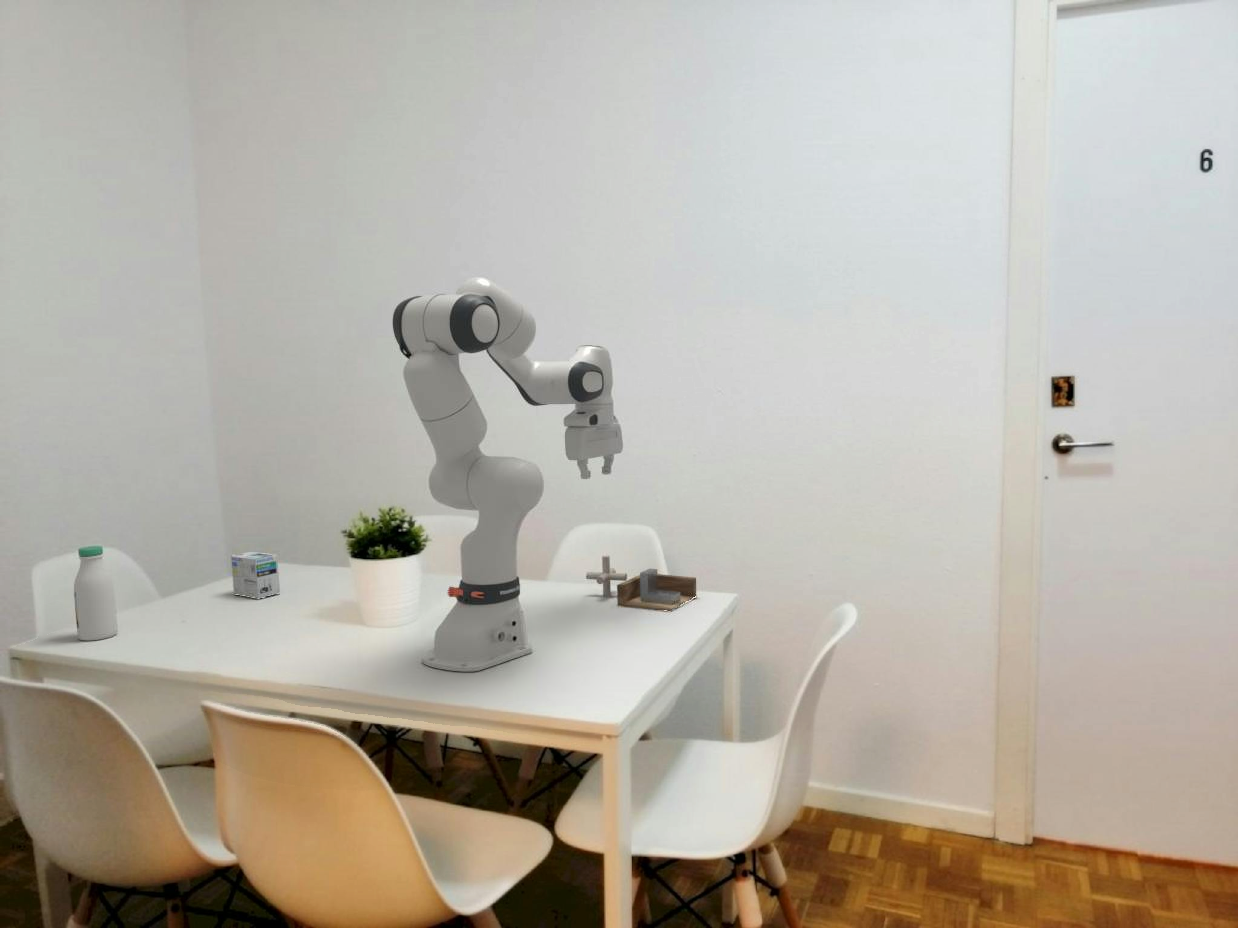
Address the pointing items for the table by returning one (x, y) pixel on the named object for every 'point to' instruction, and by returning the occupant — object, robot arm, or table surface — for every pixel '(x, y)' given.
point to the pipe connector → (606, 576)
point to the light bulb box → (255, 574)
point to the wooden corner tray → (632, 593)
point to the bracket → (655, 590)
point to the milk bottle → (94, 597)
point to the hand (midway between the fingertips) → (596, 476)
